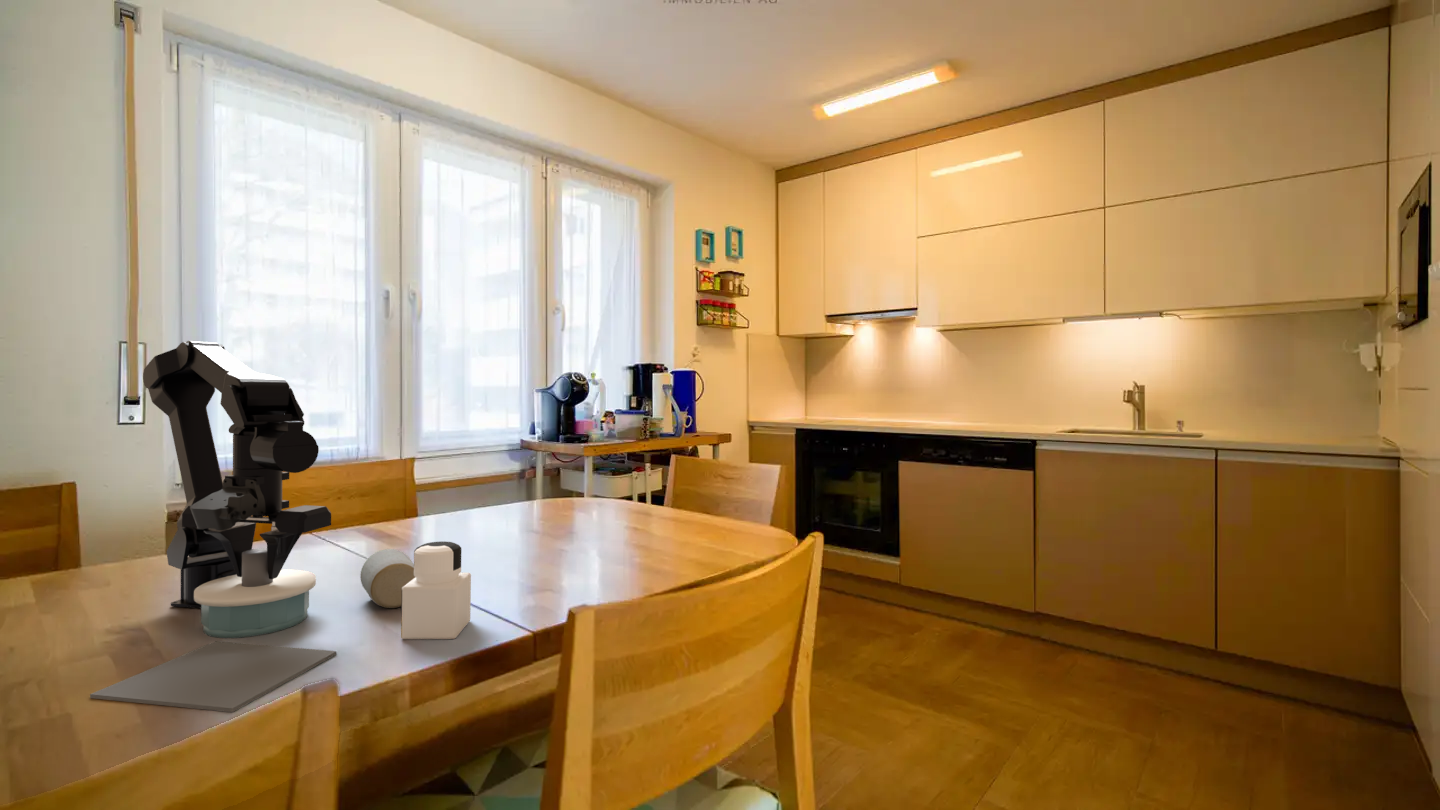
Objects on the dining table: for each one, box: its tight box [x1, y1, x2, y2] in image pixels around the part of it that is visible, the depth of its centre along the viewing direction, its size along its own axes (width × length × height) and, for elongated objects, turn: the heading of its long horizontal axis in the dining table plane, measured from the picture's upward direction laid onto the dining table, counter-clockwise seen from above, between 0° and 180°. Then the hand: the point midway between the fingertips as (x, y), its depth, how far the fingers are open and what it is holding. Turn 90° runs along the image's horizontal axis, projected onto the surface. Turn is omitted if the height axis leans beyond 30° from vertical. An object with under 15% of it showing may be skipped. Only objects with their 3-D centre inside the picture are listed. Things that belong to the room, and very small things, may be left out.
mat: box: [89, 640, 337, 713], centre depth 76 cm, size 17×15×1 cm
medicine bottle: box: [400, 541, 472, 640], centre depth 91 cm, size 7×7×12 cm
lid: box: [194, 547, 317, 607], centre depth 93 cm, size 14×14×6 cm
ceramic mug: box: [360, 548, 415, 609], centre depth 103 cm, size 11×8×8 cm
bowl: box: [200, 590, 310, 639], centre depth 93 cm, size 12×12×4 cm
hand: (257, 577), depth 93 cm, fingers open, 5 cm apart
